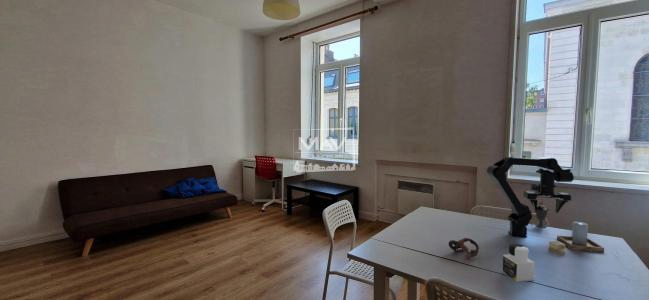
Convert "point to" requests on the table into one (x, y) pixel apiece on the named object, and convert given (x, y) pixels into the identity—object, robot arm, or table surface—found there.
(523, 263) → the white stepped box
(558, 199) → the robot arm
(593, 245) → the tray
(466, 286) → the table surface
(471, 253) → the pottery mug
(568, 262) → the table surface
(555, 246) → the beech cube
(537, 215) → the sundae
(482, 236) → the table surface
